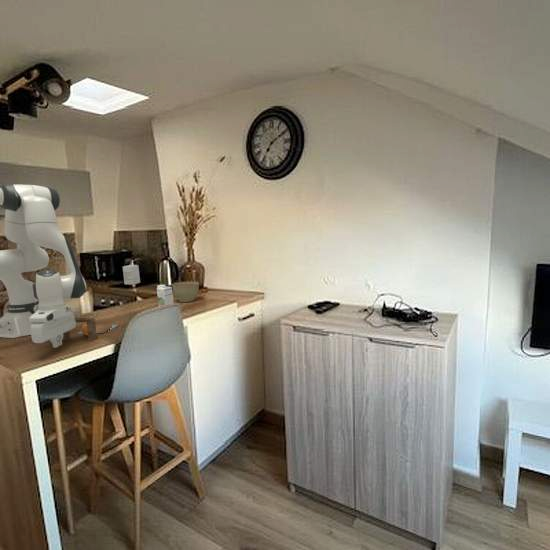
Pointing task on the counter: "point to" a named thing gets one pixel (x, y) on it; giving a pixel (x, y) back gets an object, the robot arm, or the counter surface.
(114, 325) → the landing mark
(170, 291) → the syrup box
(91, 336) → the bridge
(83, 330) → the ball
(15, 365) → the counter surface
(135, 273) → the supplement box
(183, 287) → the planter bowl
